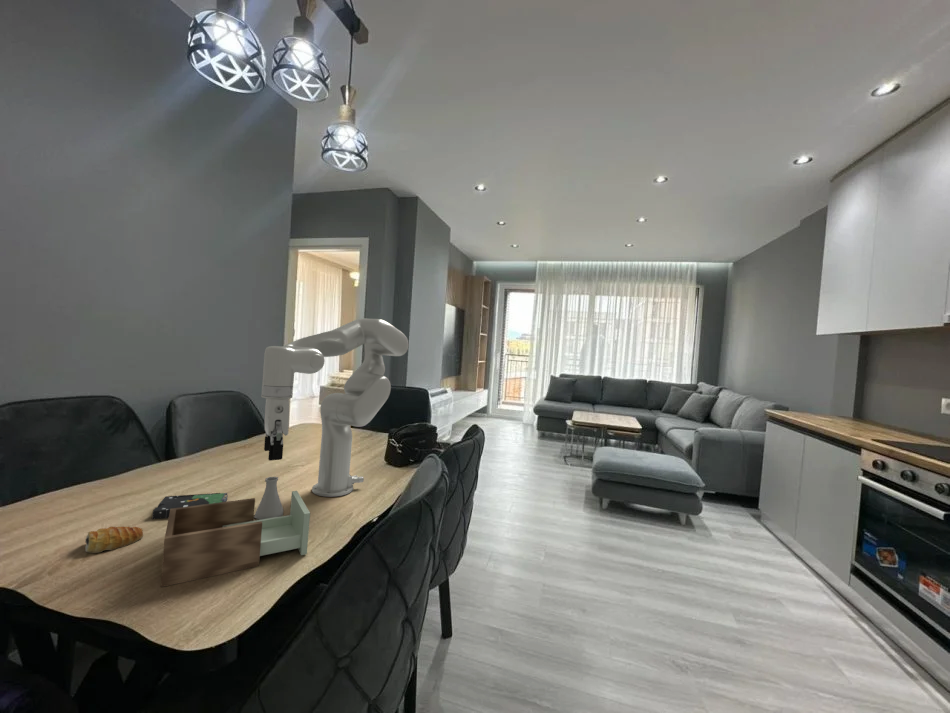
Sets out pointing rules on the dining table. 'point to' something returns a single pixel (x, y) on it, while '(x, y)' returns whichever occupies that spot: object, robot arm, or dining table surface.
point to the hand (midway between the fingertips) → (272, 454)
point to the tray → (285, 529)
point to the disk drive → (186, 502)
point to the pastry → (112, 538)
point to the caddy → (210, 541)
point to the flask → (270, 501)
